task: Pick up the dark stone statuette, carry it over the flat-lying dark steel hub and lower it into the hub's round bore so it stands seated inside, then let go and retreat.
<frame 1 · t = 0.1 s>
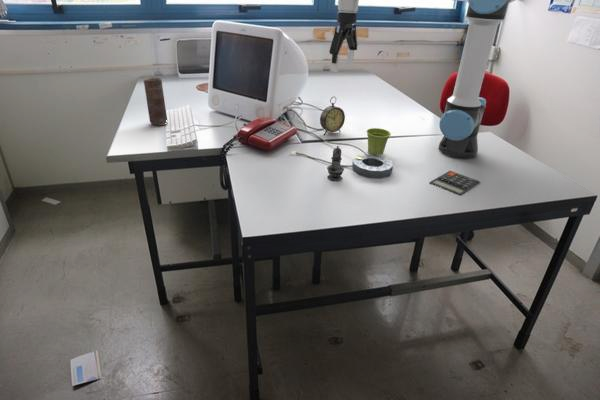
hand: (342, 69, 165), 28 cm above the table, fingers open, 13 cm apart
dark stone statuette: (334, 178, 142), on the table
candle: (158, 124, 181), on the table
calculator: (454, 184, 143), on the table
alarm clock: (330, 133, 181), on the table
steel hub: (371, 169, 149), on the table
plant pot: (375, 153, 163), on the table
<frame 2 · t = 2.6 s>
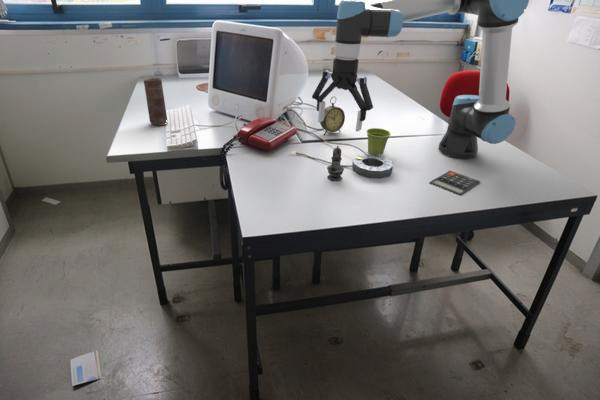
hand: (339, 125, 132), 19 cm above the table, fingers open, 13 cm apart
nothing on the table moved.
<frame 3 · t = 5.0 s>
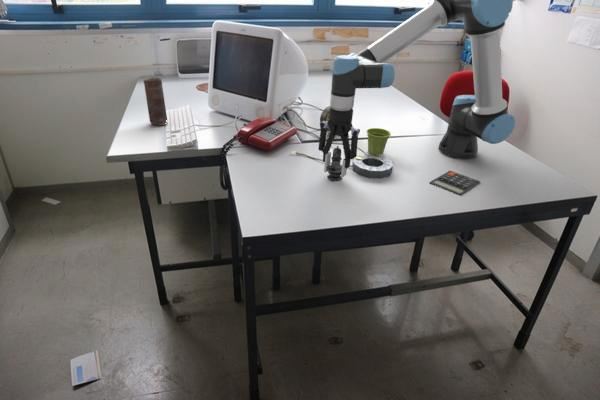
hand: (335, 173, 141), 2 cm above the table, fingers closed on dark stone statuette, 6 cm apart
dark stone statuette: (334, 178, 142), on the table, touching gripper
everything else where it was.
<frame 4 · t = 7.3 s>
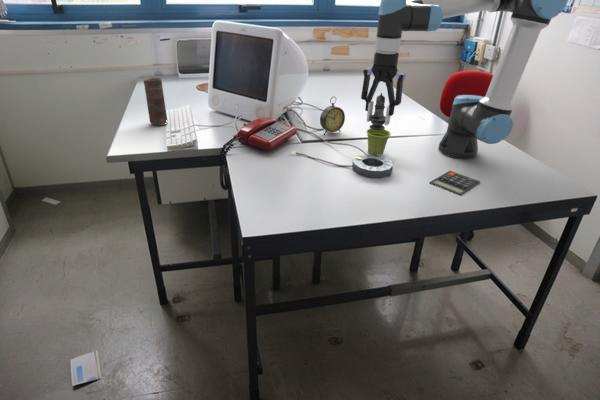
hand: (377, 122, 140), 18 cm above the table, fingers closed on dark stone statuette, 6 cm apart
dark stone statuette: (377, 128, 141), point 16 cm above the table, touching gripper
everything else where it was.
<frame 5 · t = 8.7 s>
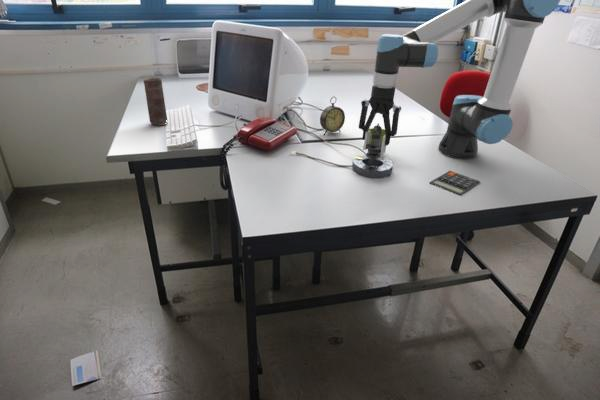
hand: (374, 150, 145), 8 cm above the table, fingers closed on dark stone statuette, 6 cm apart
dark stone statuette: (373, 156, 146), point 5 cm above the table, touching gripper
everything else where it was.
when the fingers open (4 cm above the table, at t = 9.7 s): dark stone statuette drops 2 cm, resting in steel hub.
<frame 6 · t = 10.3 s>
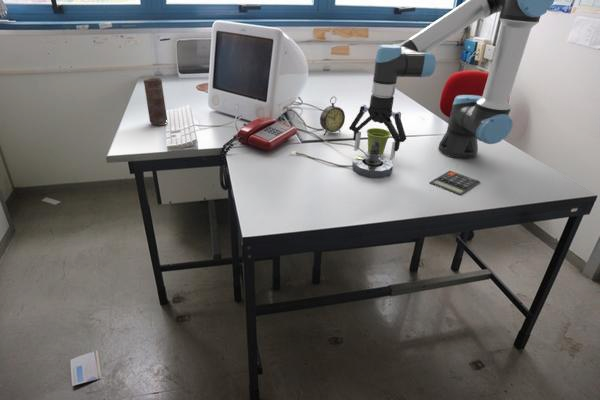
hand: (374, 154, 146), 6 cm above the table, fingers open, 13 cm apart
dark stone statuette: (372, 170, 149), resting in steel hub
everything else where it was.
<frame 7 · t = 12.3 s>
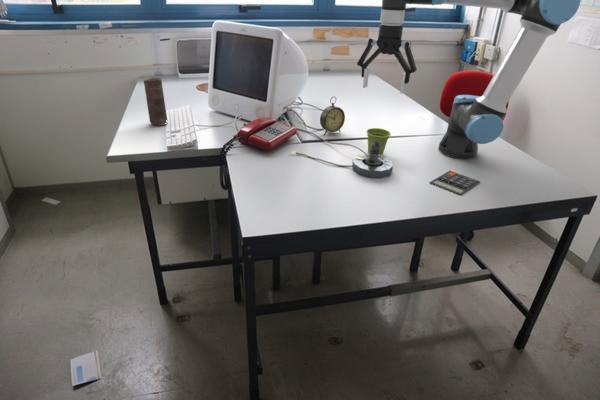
hand: (383, 89, 143), 27 cm above the table, fingers open, 13 cm apart
nothing on the table moved.
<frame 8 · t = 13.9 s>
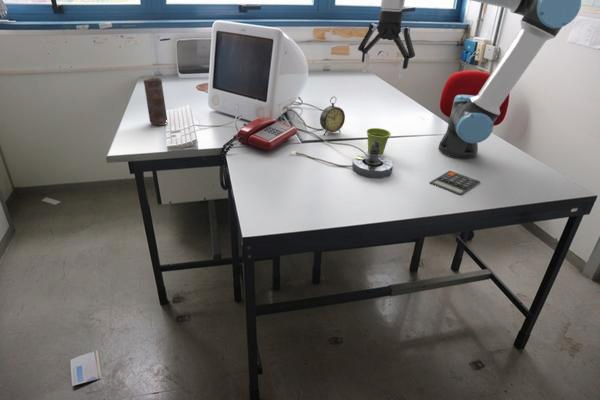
hand: (382, 74, 147), 31 cm above the table, fingers open, 13 cm apart
nothing on the table moved.
at the end: dark stone statuette 0.1 cm from the steel hub (horizontally); dark stone statuette resting in steel hub; dark stone statuette tilted 0° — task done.
